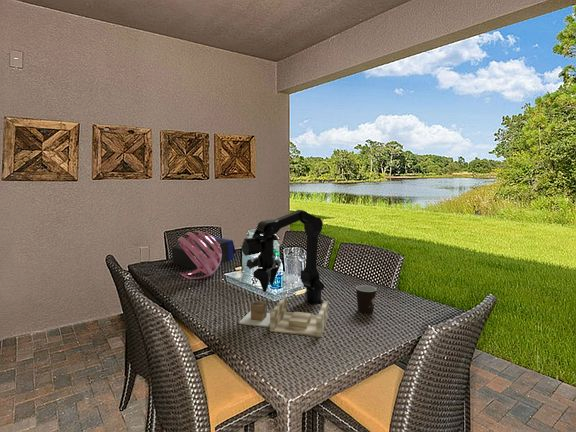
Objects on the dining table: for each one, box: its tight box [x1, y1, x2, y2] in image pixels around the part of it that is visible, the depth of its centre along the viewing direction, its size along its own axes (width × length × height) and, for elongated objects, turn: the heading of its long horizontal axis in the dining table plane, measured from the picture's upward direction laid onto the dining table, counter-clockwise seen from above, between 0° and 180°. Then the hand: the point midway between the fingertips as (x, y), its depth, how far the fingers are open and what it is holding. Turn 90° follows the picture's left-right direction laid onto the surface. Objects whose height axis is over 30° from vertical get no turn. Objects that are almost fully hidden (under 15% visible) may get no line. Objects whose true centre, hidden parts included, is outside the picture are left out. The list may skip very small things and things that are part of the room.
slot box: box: [269, 296, 329, 338], centre depth 136 cm, size 18×19×7 cm
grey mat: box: [238, 310, 271, 328], centre depth 140 cm, size 12×12×1 cm
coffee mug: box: [355, 284, 377, 315], centre depth 149 cm, size 12×9×10 cm
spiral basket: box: [177, 230, 222, 280], centre depth 199 cm, size 28×28×27 cm
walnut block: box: [250, 300, 268, 321], centre depth 140 cm, size 5×5×6 cm
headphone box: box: [171, 236, 237, 270], centre depth 236 cm, size 25×35×14 cm
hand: (268, 288), depth 145 cm, fingers open, 9 cm apart
